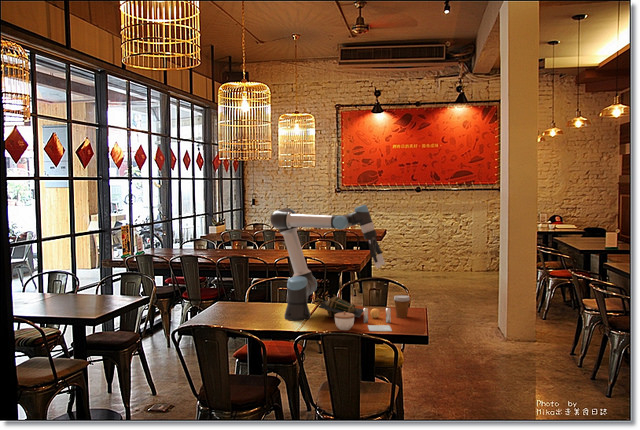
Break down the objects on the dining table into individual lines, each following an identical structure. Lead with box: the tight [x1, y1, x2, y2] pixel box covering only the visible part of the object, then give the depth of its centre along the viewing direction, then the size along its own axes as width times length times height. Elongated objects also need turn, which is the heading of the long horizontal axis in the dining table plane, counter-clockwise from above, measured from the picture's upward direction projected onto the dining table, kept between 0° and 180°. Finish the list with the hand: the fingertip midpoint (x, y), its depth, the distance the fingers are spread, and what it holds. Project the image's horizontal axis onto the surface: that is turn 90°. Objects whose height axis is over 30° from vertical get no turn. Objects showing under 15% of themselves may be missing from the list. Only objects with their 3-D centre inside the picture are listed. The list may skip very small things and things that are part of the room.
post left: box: [363, 307, 369, 324], centre depth 322 cm, size 3×3×8 cm
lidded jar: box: [334, 311, 355, 331], centre depth 308 cm, size 11×11×9 cm
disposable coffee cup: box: [393, 294, 411, 319], centre depth 336 cm, size 10×10×12 cm
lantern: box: [312, 294, 364, 318], centre depth 334 cm, size 14×23×30 cm
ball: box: [369, 308, 381, 319], centre depth 333 cm, size 6×6×6 cm
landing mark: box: [367, 324, 393, 332], centre depth 309 cm, size 12×12×1 cm
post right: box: [385, 307, 392, 324], centre depth 322 cm, size 3×3×8 cm
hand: (380, 266), depth 330 cm, fingers open, 13 cm apart
